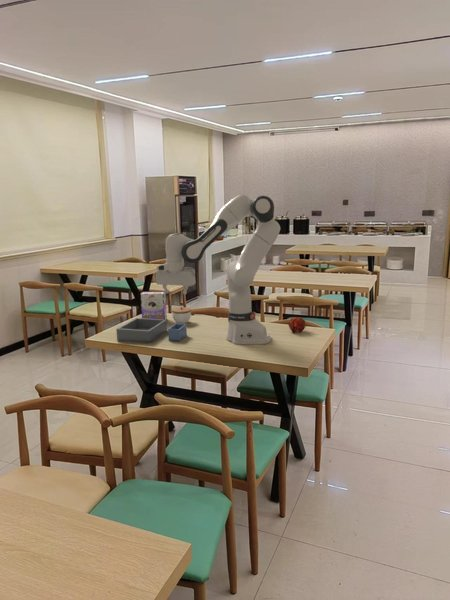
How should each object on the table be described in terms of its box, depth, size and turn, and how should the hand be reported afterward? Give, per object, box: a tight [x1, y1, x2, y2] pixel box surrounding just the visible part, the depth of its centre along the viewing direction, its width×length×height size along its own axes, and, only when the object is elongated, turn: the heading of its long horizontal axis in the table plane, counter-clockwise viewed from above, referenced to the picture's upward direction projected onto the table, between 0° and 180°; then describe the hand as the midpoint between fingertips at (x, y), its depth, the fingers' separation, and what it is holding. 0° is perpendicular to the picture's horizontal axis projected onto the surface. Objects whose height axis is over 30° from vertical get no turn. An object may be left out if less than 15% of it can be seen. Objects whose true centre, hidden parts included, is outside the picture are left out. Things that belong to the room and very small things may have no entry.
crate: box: [116, 317, 168, 344], centre depth 244 cm, size 18×22×6 cm
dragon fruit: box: [288, 316, 307, 334], centre depth 246 cm, size 8×8×12 cm
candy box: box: [139, 291, 168, 320], centre depth 273 cm, size 14×6×16 cm, turn 84°
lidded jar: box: [171, 306, 192, 325], centre depth 267 cm, size 11×11×9 cm
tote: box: [167, 323, 188, 342], centre depth 239 cm, size 6×10×6 cm, turn 164°
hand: (175, 293), depth 235 cm, fingers open, 8 cm apart
